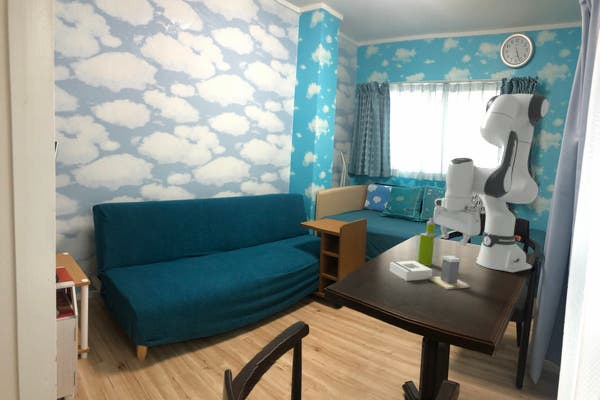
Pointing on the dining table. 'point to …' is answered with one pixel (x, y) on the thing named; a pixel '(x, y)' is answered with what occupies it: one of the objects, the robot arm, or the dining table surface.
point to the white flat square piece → (410, 270)
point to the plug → (450, 269)
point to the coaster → (451, 285)
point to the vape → (427, 244)
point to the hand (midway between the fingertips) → (454, 241)
